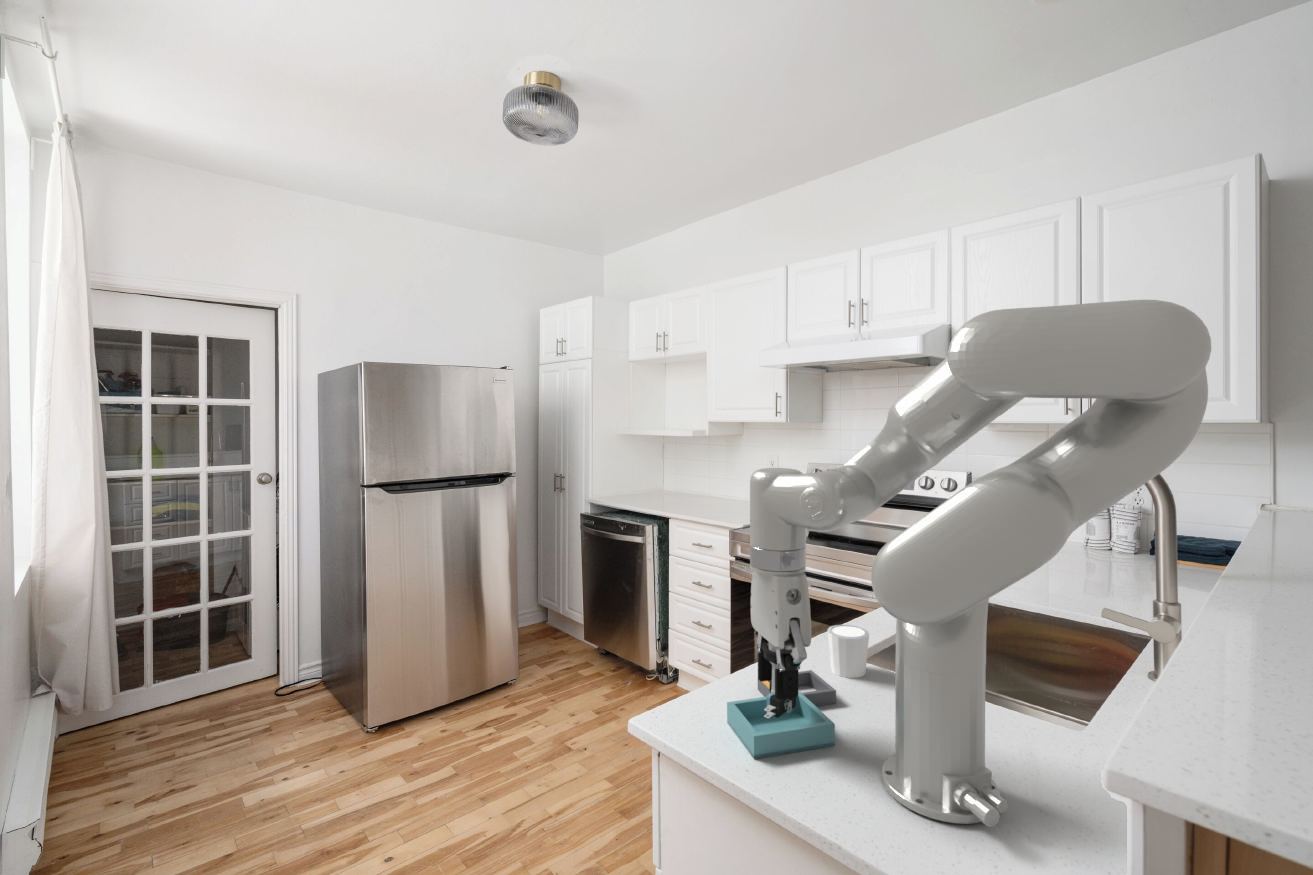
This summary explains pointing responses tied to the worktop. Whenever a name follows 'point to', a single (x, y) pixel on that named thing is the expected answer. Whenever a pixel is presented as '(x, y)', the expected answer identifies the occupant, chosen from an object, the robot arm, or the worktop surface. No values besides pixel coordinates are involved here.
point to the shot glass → (848, 650)
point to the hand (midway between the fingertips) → (777, 686)
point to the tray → (780, 727)
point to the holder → (819, 697)
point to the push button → (773, 704)
